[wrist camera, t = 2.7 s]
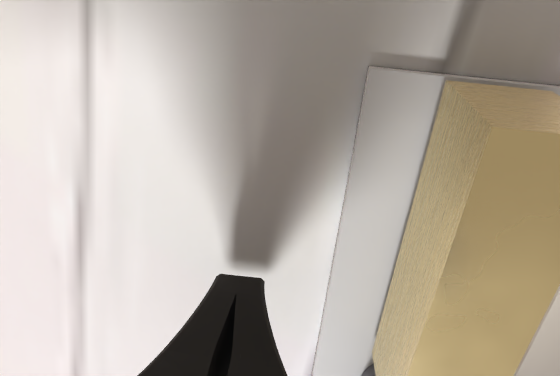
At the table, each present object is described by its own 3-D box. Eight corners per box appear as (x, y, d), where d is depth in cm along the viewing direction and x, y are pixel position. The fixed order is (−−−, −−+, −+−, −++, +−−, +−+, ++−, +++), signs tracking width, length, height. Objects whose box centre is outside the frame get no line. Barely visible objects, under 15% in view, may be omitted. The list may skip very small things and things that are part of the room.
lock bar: (446, 359, 15) (476, 448, 12) (372, 352, 15) (385, 439, 12) (551, 91, 11) (633, 140, 8) (446, 80, 11) (492, 126, 8)
